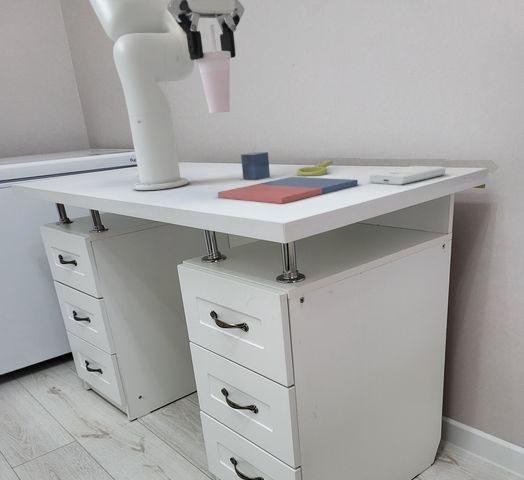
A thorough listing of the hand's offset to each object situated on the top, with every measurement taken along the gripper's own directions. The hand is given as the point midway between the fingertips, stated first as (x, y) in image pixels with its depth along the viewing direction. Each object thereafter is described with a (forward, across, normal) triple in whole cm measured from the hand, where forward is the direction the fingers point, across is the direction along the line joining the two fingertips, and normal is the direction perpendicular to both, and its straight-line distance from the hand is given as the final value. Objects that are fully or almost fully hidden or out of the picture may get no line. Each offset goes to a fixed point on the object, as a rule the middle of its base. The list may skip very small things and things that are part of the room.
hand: (213, 57), depth 96 cm
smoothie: (+9, 0, 0) cm, 9 cm away
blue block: (+24, -19, -14) cm, 34 cm away
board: (+24, -8, +9) cm, 27 cm away
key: (+24, -30, -5) cm, 39 cm away
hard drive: (+25, -27, +23) cm, 43 cm away
